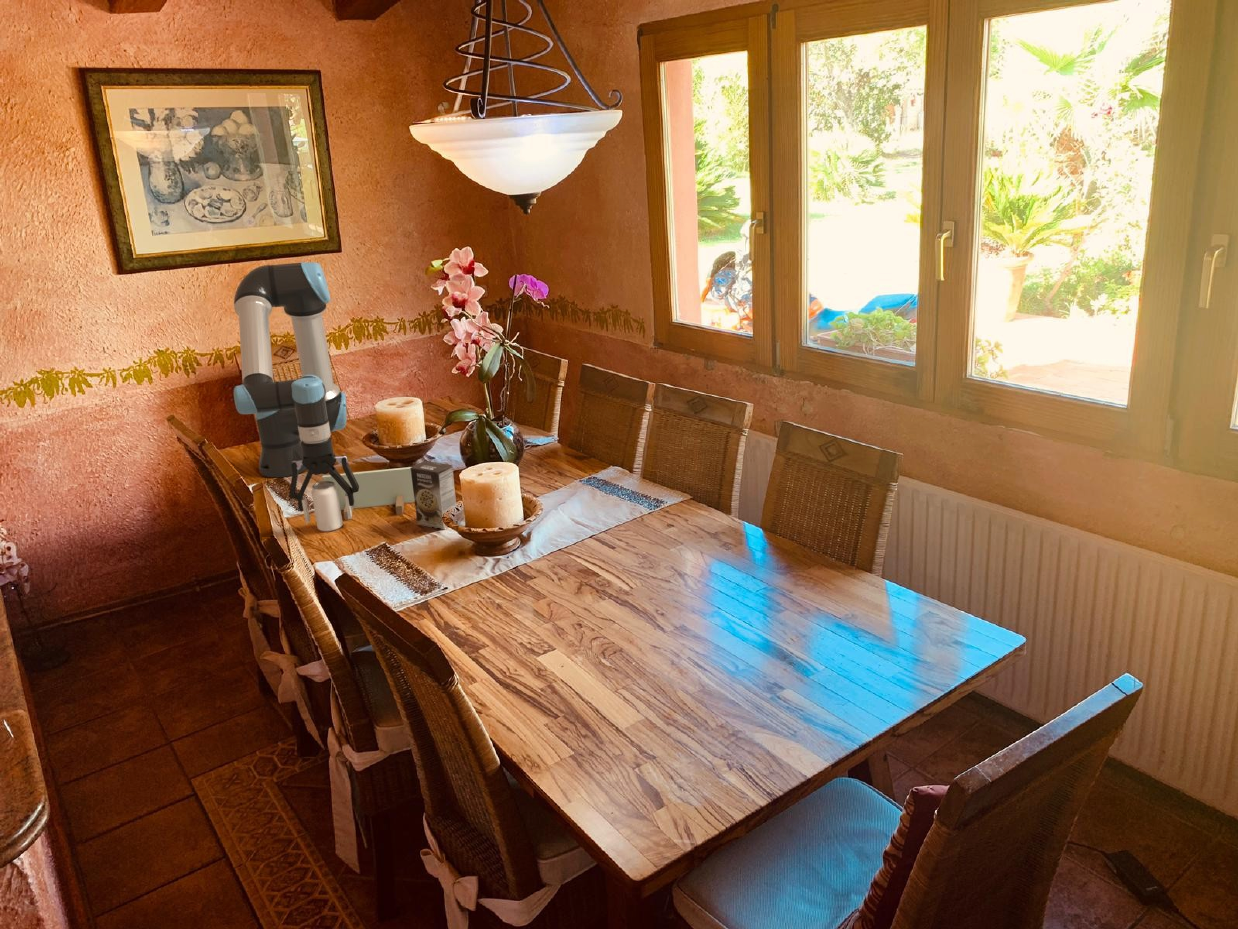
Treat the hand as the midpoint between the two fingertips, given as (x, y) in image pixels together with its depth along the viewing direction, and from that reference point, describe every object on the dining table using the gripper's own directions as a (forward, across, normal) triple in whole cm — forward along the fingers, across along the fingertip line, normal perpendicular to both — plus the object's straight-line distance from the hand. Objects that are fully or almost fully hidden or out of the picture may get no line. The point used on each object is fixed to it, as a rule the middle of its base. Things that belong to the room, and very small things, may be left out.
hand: (329, 519), depth 242 cm
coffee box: (+3, +28, -5) cm, 29 cm away
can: (+2, 0, 0) cm, 2 cm away
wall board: (+2, +11, +8) cm, 14 cm away
